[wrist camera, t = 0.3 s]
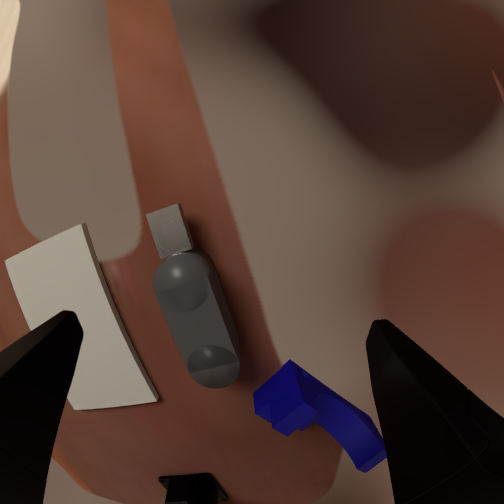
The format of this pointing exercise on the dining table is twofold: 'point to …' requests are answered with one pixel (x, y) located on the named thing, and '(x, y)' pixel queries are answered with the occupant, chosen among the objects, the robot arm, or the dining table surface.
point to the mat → (82, 318)
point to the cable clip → (318, 413)
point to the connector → (194, 302)
